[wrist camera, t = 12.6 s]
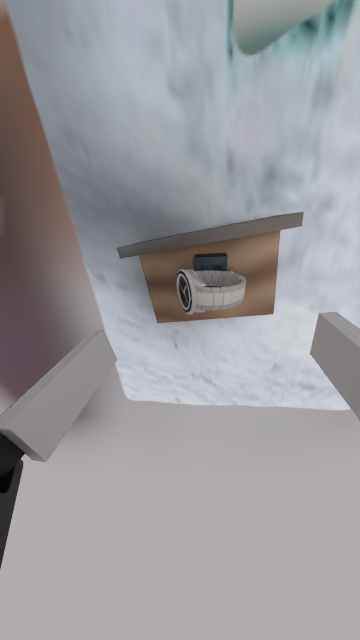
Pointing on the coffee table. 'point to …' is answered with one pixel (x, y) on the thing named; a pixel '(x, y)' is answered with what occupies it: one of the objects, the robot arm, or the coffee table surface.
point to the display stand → (243, 258)
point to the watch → (209, 284)
